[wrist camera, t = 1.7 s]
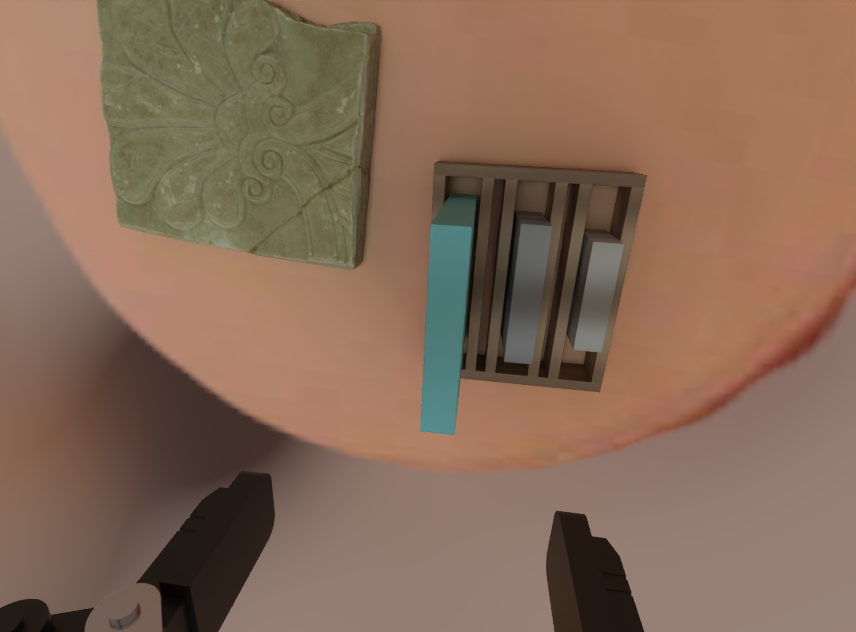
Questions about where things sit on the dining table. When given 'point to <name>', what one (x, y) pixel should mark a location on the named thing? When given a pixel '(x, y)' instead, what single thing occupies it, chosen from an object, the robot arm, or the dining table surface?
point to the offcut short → (594, 290)
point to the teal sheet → (446, 311)
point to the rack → (621, 228)
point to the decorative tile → (240, 125)
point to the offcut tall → (524, 285)
